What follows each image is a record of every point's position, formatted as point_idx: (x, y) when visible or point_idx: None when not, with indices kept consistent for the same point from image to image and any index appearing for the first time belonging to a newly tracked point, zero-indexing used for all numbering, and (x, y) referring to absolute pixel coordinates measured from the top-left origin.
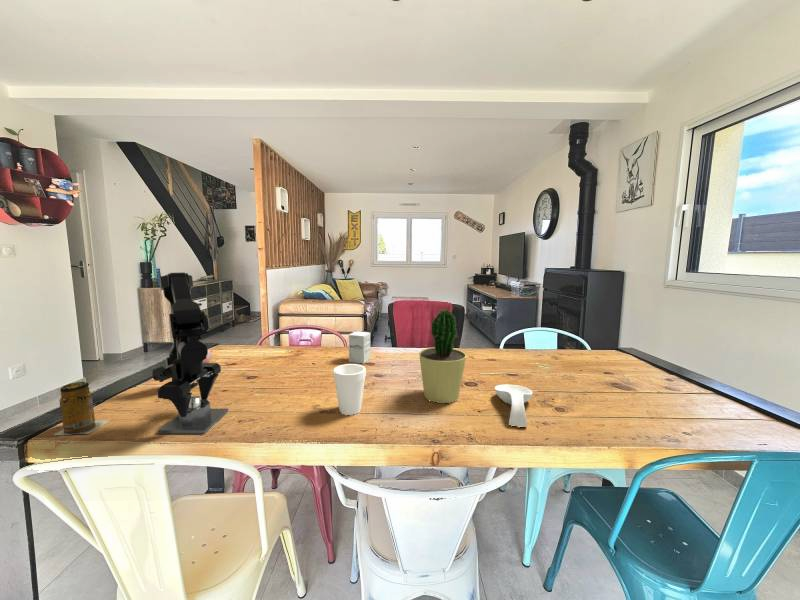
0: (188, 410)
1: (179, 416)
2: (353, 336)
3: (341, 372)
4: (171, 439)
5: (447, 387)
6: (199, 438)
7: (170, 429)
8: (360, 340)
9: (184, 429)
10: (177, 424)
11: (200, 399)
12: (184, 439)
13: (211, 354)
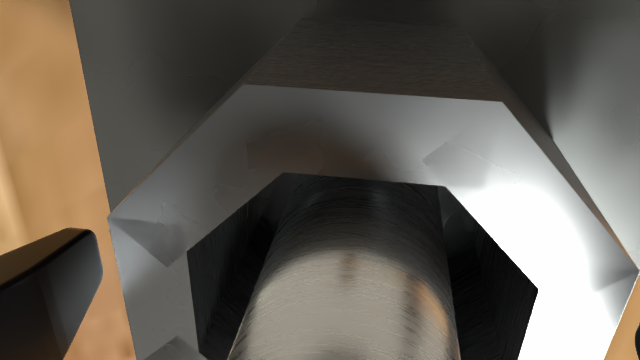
0: (148, 319)
1: (238, 83)
2: None
3: None
4: (20, 104)
5: None
6: (89, 315)
7: (92, 33)
8: None
9: (121, 190)
10: (216, 48)
11: (605, 340)
12: (50, 217)
13: None
